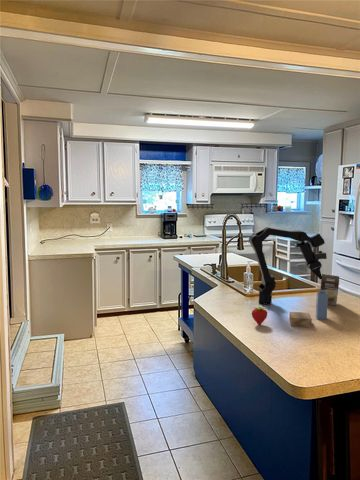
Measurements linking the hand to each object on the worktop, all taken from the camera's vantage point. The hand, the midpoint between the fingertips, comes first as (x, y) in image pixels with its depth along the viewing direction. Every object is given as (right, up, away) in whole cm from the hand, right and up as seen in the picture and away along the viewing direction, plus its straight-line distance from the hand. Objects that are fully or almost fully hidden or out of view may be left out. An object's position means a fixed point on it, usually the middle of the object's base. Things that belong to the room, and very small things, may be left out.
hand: (319, 277), depth 201 cm
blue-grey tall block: (-7, -18, -20) cm, 28 cm away
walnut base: (-20, -19, -28) cm, 39 cm away
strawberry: (-40, -19, -29) cm, 53 cm away
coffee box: (+6, -13, +4) cm, 15 cm away
